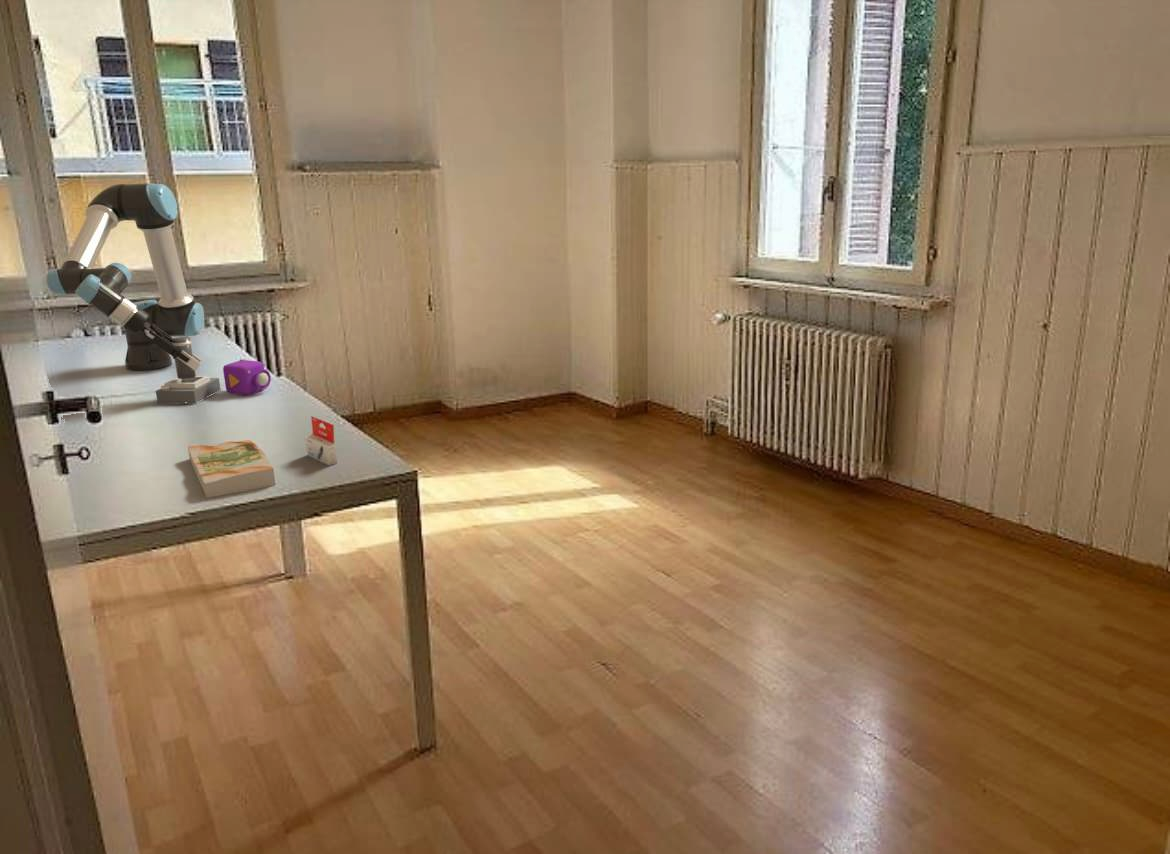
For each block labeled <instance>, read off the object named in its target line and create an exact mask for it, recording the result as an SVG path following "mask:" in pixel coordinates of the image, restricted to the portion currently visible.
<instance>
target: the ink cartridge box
mask: <svg viewBox="0 0 1170 854" xmlns="http://www.w3.org/2000/svg"><path fill="white" fill-rule="evenodd" d="M310 420H311V430H312V434H308V435H305V436H304V438H305V439H304V440H305V446H306V454H307V456H309V457H310V458H313V459H315V460H317V461H319V462H321V463H323V464H325V465H328V466H331V465H335V464H338V458H337V452H336V450H337V449H336V443H335V425H334V424H333V423H331V422H330V423H329V422H327V421H325V420H322V419H320V418H317V417H314V416H311V419H310ZM321 424H322V425H323V426H324V427H325V428H324V427H321V426H320V425H321Z"/></svg>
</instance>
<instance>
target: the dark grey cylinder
mask: <svg viewBox="0 0 1170 854" xmlns="http://www.w3.org/2000/svg"><path fill="white" fill-rule="evenodd" d="M172 338H173V339H171V340H172V344H173V345H175V346H176V347H177V348H179V349H180V350H181V351H182V350H183V351H184V352H185V353H187V354H188V355H190V356H191V357H193V354H194V353H193V349H192V341H191V336H188V337H185V336H180V337H172ZM174 364H175V369H176V375H177V376H176V378H179V379H187V378H193V377H195V376H197V375H196V370H193V369H192V368H191V367H189V366H188V365H186V364H185V363H183V362H182V361H181V360H179V359H178V358H175V359H174Z"/></svg>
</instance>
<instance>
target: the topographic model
mask: <svg viewBox="0 0 1170 854" xmlns="http://www.w3.org/2000/svg"><path fill="white" fill-rule="evenodd" d="M187 449H188V450H187V451H188V457H189V460H190V463H191V466H192V467H193V470H194V472H195V475H196V476H197V479H198V481H199V484H200V485H201V488H202V491H203V493H204V496H205V497H206V498H213V497H219V496H222V495H223V496H224V495H228V494H229V495H230V494H234V493H239V492H244V491H250V490H255V489H261V488H266V487H267V488H268V487H271V486H272V487H273V486H276V478H275V471H274V468H273V466H272V464H271V463H270V461H269V459H268V457H267V456H266V454H265V452H264V451H263V450H262V449H259V446H258V445H257V444H256V443H255V442H252V440H251V439H247V440H240V441H226V442H225V441H224V442H221V443H218V444H215V445H202V444H201V445H191V446H190V445H189V446H187Z"/></svg>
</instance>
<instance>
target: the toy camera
mask: <svg viewBox="0 0 1170 854" xmlns="http://www.w3.org/2000/svg"><path fill="white" fill-rule="evenodd" d="M246 359H247V358H244V357H243V358H240V359H239V360H238V361H234V362H231V363H228V364H225V365H224V366H223V367H222V372H223V379H224V384H225V390H226V392H227V393H228V394H232V395H233V394H234V395H240V394H241V395H242V396H249V395H253V394H255V393H256V394H257V393H259V392H262V391H264V390H266V389H268V388H269V386H270V384H271V380H272V379H271V377H272V376H271V373H270V371H268V370H267V369H265V366H264V363H263V362H262V361H257V360H249V359H247V360H246Z"/></svg>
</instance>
